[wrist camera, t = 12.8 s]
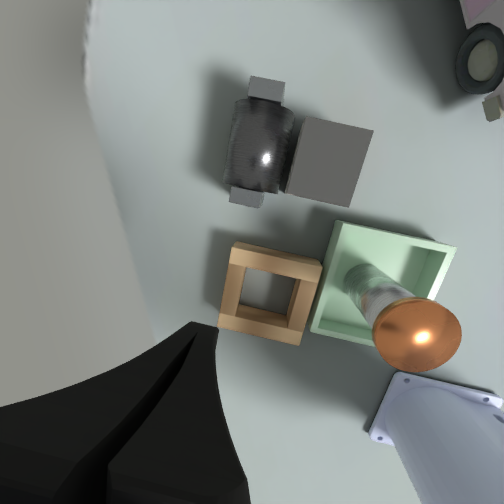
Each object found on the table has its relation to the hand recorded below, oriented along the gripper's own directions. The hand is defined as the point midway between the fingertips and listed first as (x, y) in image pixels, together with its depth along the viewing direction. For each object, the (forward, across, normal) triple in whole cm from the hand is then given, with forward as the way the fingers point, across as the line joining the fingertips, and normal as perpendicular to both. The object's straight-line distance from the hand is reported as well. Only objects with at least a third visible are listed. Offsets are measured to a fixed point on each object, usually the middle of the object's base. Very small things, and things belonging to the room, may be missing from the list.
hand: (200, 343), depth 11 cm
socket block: (+10, -3, +1) cm, 11 cm away
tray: (+10, -11, -2) cm, 15 cm away
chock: (+10, -5, -9) cm, 15 cm away
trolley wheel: (+10, 0, -10) cm, 14 cm away
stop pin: (+10, -10, -2) cm, 15 cm away
